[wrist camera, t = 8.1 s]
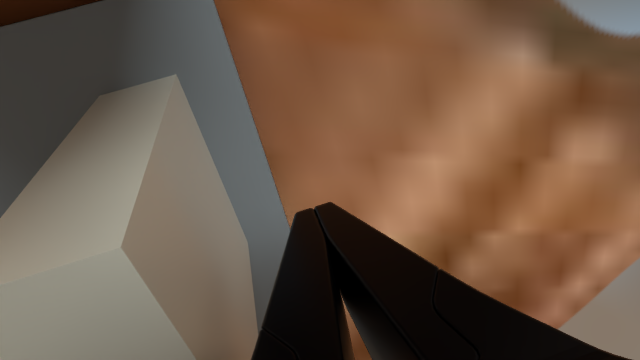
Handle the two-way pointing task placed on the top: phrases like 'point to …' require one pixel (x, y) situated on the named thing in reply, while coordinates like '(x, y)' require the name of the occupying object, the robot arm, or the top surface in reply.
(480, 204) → the top surface
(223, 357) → the tile
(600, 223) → the top surface
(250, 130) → the slate mat
